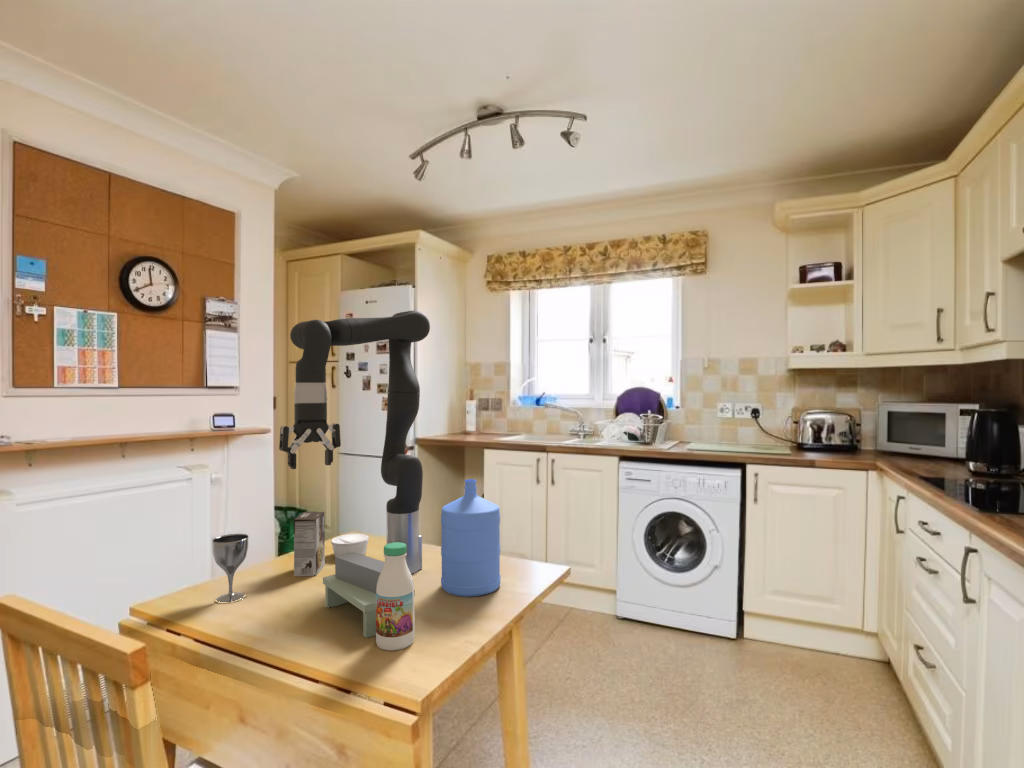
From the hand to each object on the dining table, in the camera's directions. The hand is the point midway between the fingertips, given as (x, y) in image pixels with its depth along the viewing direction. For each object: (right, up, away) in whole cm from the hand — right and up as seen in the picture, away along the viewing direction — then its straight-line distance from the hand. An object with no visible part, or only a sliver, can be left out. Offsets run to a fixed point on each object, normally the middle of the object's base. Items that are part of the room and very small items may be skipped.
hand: (310, 466), depth 127 cm
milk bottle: (+26, -33, -21) cm, 47 cm away
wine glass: (-21, -34, +2) cm, 40 cm away
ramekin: (-2, -34, +36) cm, 49 cm away
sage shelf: (+16, -33, -8) cm, 37 cm away
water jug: (+39, -33, +9) cm, 52 cm away
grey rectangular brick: (+16, -26, -7) cm, 31 cm away
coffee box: (-9, -34, +21) cm, 41 cm away
